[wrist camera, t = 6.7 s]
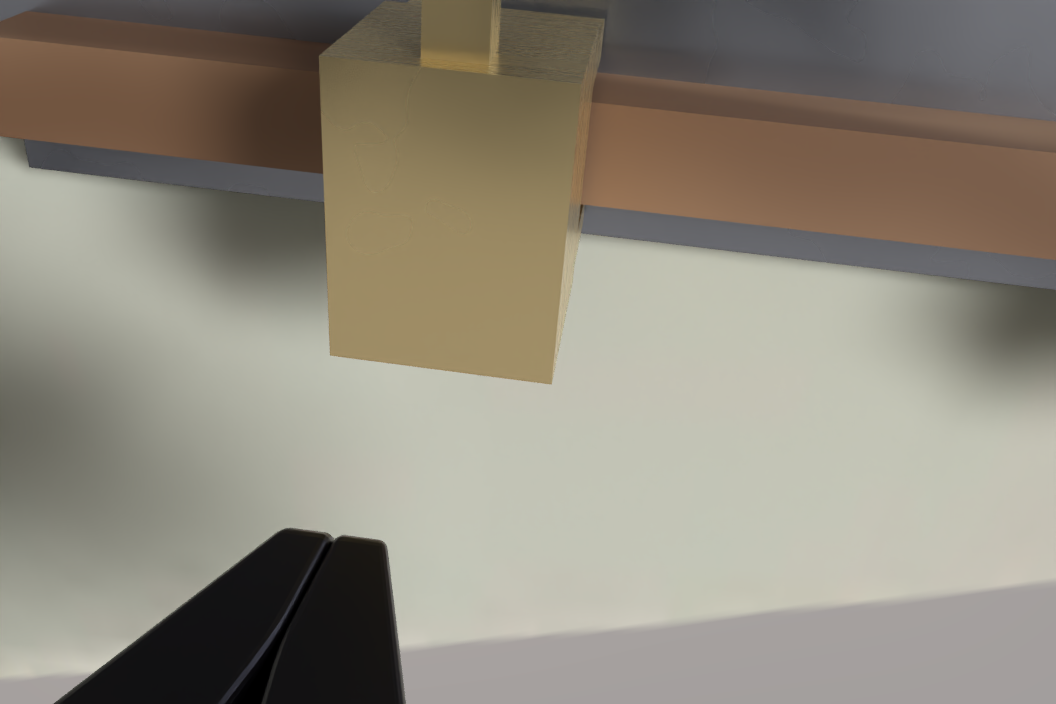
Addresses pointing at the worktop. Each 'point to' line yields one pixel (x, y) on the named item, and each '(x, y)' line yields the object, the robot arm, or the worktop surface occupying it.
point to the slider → (455, 183)
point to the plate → (690, 56)
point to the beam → (612, 147)
